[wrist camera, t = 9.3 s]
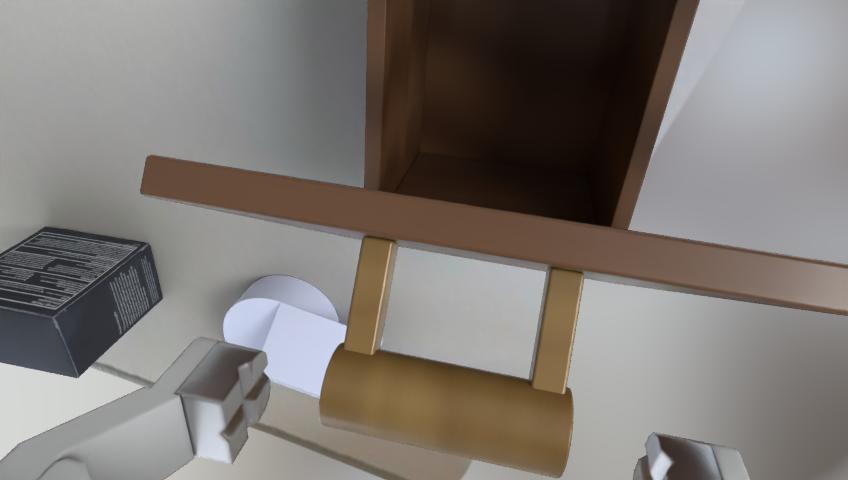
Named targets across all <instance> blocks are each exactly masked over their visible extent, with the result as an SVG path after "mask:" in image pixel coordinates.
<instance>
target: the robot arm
mask: <svg viewBox="0 0 848 480" xmlns="http://www.w3.org/2000/svg"><path fill="white" fill-rule="evenodd" d="M267 365H268V360H267V354H266V352H264V351H261V350H257V349H253V348H249V347H245V346H240V345H236V344H232V343H228V342H223V341H218V340H213V339H209V338H205V337H199V338H197V339H195V340H194V341H193V342H192V343H191V344H190V345H189V346H188V347H187V348H186V349H185V350H184V351H183V353H182V354H181V355H180V356H179V357H178V358H177V359H176V360H175V361H174V362H173V364H172V365H171V366H170V367H169V368H168V369H167V370H166V371H165V372H164V373H163V375H162V376H161V377H160V378H159V379H158V380H157V381H156V382H155V383H154V384H153V386H152V387H151V388H145V387H143V388H141V389H138V390H136V391H134V392H132V393H130V394H127V395H125V396H123V397H121V398H119V399H116V400H114V401H112V402H110V403H107V404H105V405H103V406H101V407H99V408H96V409H94V410H92V411H90V412H88V413H85V414H83V415H81V416H79V417H76V418H74V419H72V420H70V421H68V422H65V423H63V424H61V425H59V426H56V427H54V428H52V429H50V430H48V431H45V432H43V433H41V434H39V435H37V436H34V437H32V438H30V439H28V440H26V441H23V442H21V443H19V444H18V445H17V446H16V447H15V448H14V449H12V450H11V451H10V452H9V453H8V454H7V455H6V456H5V457H4V458H3V459H2V460H1V461H0V480H164V479H166V478H167V477H169V476H170V475H171V474H173V473H174V472H176V471H177V470H179V469H180V468H181V467H183V466H184V465H186V464H187V463H188V462H190V461H191V460H193V459H194V456H197V457H201V458H206V459H211V460H216V461H220V462H225V463H229V464H233V462H234V460H235V459H236V457H237V455H238V454H239V452H240V451H241V449H242V447H243V446H244V444H245V443H246V441H247V439H248V433H247V428H248V427H250V426H251V425H253V424H255V423H256V422H258V421H259V420H260V418H261V416H262V414H263V413H264V411H265V409H266V406H267V403H268V400H269V396H270V379H269V377H268V376H267V375H266V374H265V373H264V370H265V368H266V367H267ZM645 446H646V452H647V455H646V456H644V457H642V458H640V459H638V462H637V464H636V467H635V469H634V475H633V480H750V478H749V476H748V473H747V471H746V468H745V465H744V463H743V460H742V458H741V455H740V453H739V452H738V451H737V450H736V449H735V448H730V447H725V446H720V445H715V444H710V443H704V442H700V441H695V440H690V439H686V438H680V437H675V436H671V435H666V434H660V433H655V432H653V433H652V434H650V435H649V437H648V439H647V441H646V443H645Z"/></svg>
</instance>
